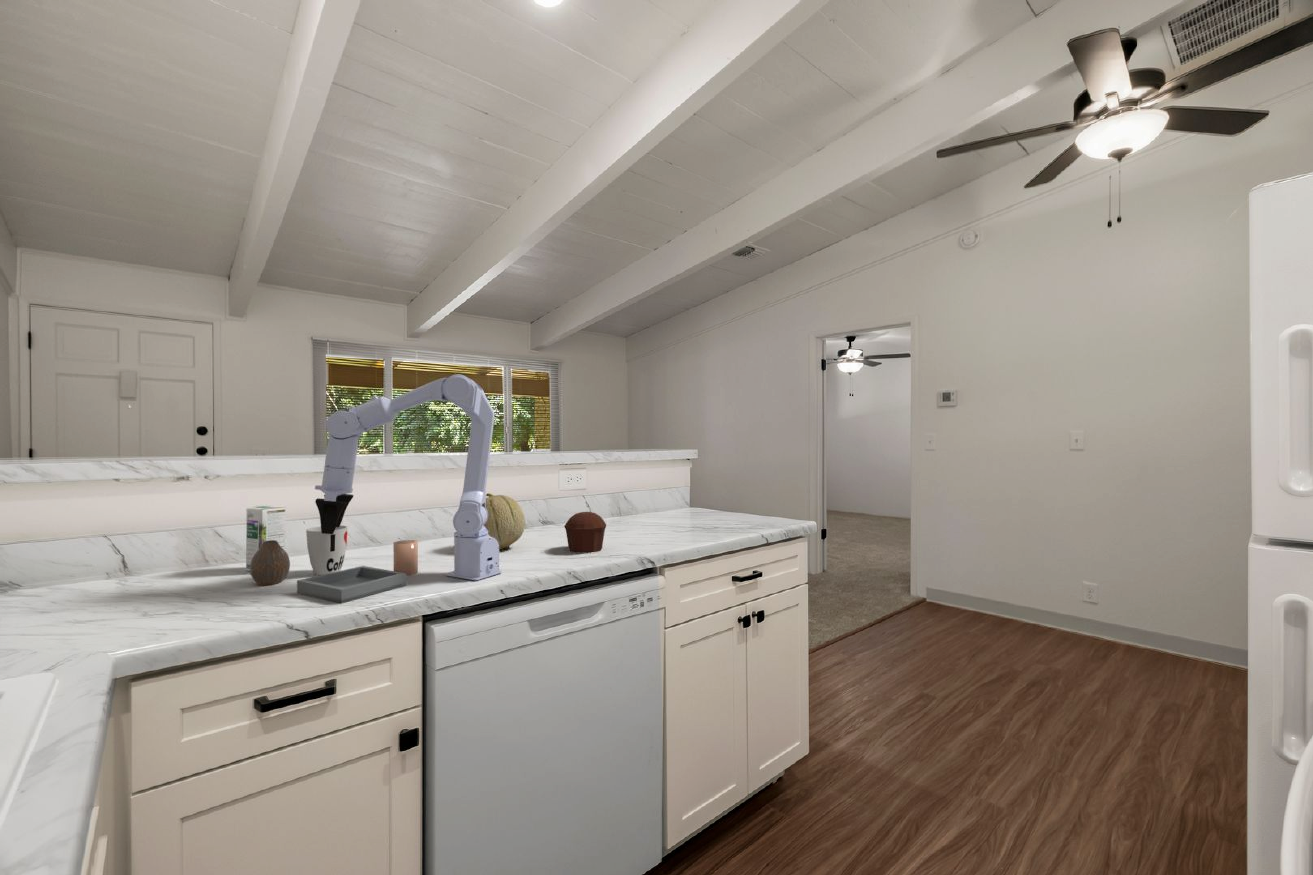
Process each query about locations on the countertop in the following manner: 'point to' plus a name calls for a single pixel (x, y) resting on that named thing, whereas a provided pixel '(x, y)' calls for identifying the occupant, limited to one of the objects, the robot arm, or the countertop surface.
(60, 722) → the countertop surface
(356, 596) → the grey tray
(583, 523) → the muffin
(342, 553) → the cup
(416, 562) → the terracotta cup
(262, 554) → the vase
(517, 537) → the cantaloupe
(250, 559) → the syrup box
